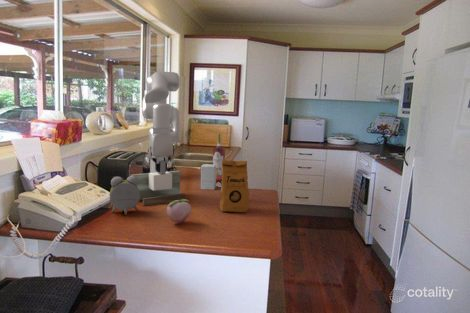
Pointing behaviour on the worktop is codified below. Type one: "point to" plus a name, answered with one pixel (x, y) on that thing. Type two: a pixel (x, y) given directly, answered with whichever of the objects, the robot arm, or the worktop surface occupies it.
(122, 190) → the alarm clock
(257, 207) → the worktop surface
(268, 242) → the worktop surface
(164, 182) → the white block gray post
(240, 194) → the coffee package
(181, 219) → the decorative fruit
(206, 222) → the worktop surface
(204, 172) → the supplement box
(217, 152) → the liquor
